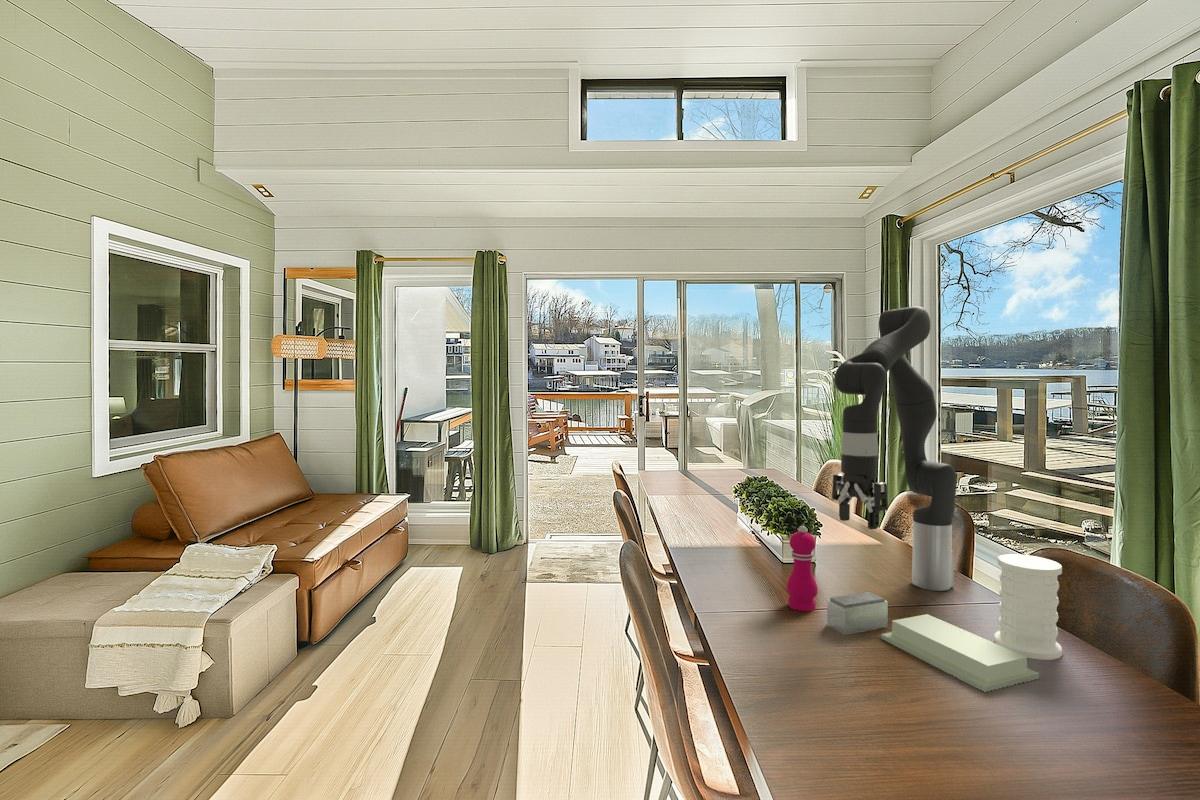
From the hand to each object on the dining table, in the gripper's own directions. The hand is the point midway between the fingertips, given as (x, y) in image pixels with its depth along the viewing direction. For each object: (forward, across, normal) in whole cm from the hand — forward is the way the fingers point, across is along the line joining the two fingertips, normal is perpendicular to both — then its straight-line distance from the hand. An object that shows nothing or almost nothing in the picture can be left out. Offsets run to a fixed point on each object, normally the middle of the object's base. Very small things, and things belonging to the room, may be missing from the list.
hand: (858, 524), depth 138 cm
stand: (+23, -19, -7) cm, 31 cm away
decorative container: (+23, -21, -25) cm, 40 cm away
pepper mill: (+23, +14, +4) cm, 28 cm away
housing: (+23, 0, 0) cm, 23 cm away
